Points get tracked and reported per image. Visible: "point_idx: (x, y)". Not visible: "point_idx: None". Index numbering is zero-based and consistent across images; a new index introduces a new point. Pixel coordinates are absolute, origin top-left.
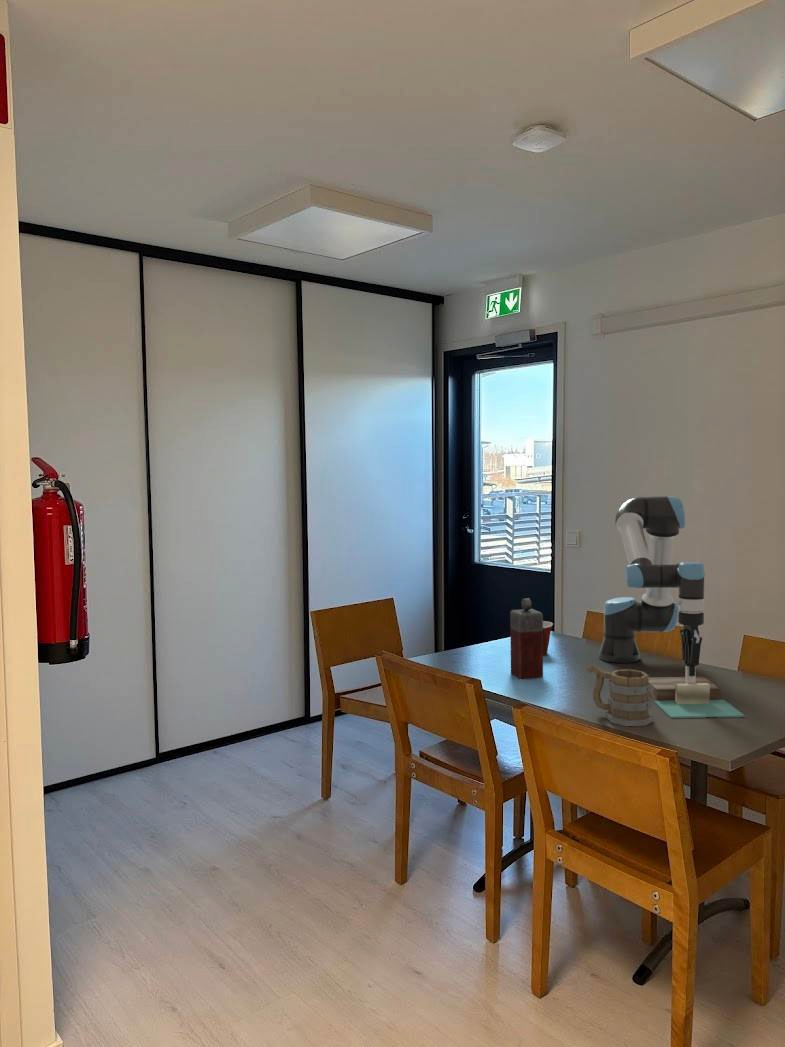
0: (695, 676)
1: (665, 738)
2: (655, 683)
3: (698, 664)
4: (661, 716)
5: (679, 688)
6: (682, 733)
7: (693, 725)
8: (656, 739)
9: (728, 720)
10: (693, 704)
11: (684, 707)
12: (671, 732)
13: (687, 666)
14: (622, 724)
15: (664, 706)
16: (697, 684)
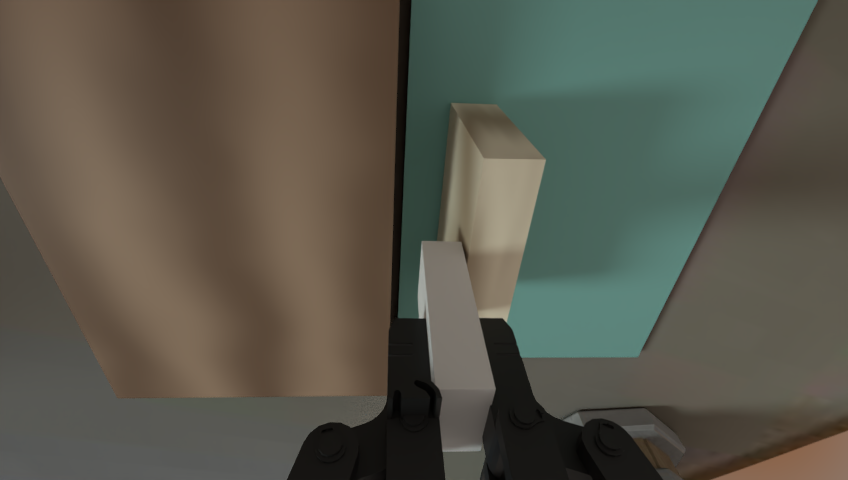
0: (473, 295)
1: (808, 411)
2: (256, 376)
3: (624, 431)
4: (597, 371)
5: None
6: (807, 360)
7: (758, 302)
8: (798, 430)
9: (804, 115)
10: None
11: (534, 270)
12: (774, 385)
13: (478, 438)
14: None
15: None
16: (504, 253)
